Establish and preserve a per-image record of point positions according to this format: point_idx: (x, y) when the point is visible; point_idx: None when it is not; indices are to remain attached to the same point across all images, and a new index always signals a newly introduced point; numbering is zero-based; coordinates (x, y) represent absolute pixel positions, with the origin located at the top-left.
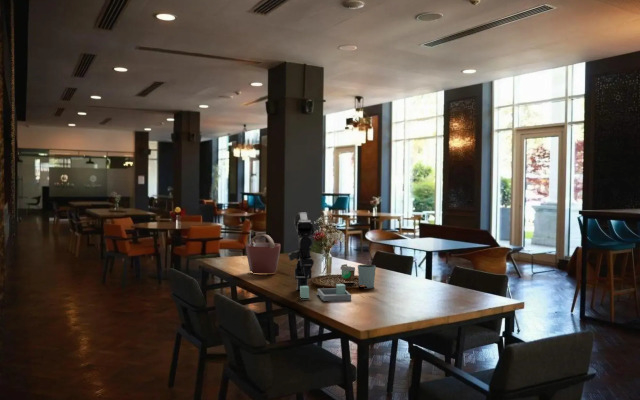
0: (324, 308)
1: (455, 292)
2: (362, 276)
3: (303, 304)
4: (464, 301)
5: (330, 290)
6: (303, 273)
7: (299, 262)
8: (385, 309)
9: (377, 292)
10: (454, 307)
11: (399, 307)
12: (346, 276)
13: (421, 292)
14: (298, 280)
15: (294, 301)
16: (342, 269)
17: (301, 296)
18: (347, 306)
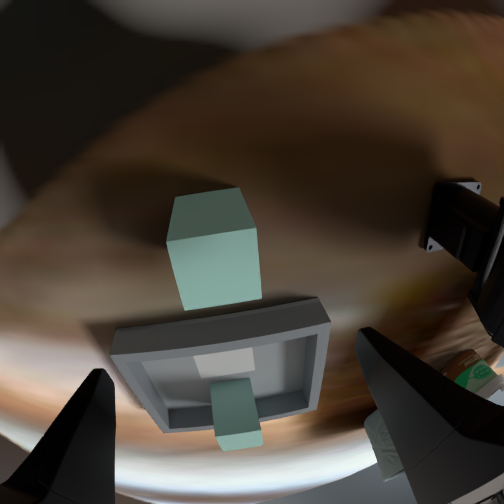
0: (2, 320)
1: (267, 494)
2: (388, 442)
3: (33, 221)
4: (192, 499)
5: (310, 368)
6: (362, 348)
7: (489, 452)
8: None
9: (299, 444)
10: (142, 492)
11: None
12: (460, 382)
13: (277, 479)
14: (490, 216)
15: (104, 149)
16: (483, 388)
17: (173, 207)
18: (68, 392)
